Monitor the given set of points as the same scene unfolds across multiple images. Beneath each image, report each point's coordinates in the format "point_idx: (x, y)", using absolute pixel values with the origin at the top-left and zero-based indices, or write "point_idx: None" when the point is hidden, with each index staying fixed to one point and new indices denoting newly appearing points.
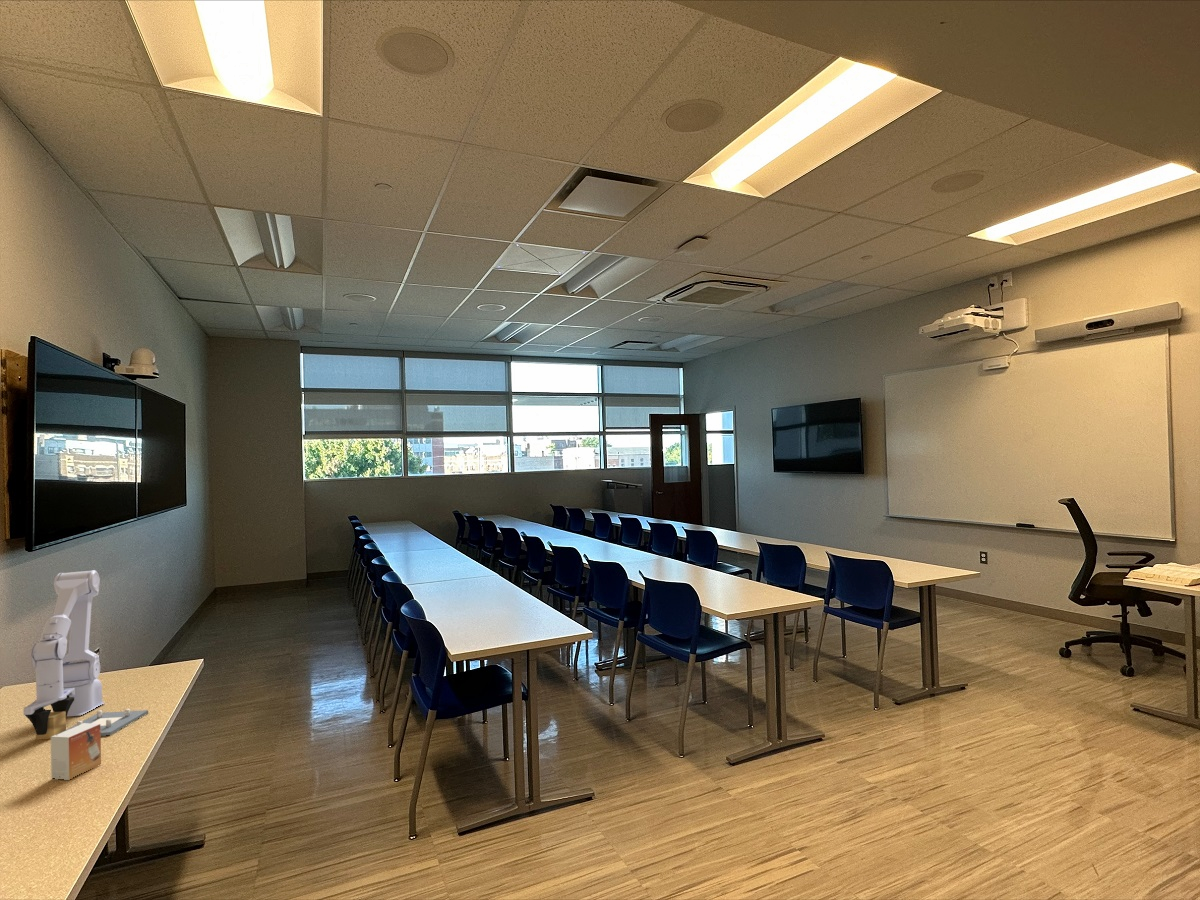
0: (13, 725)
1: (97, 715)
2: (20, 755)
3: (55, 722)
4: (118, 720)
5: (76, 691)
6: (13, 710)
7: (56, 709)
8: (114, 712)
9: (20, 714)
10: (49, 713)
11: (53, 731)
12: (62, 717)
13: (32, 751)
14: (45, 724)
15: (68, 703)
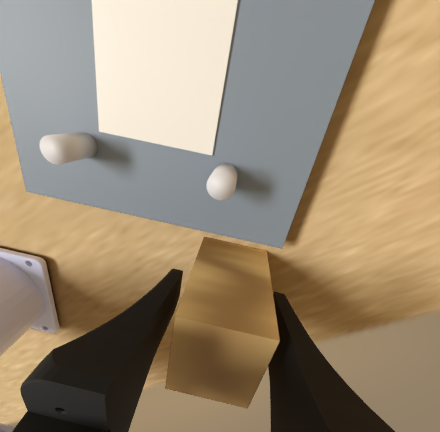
0: None
1: (85, 153)
2: (421, 290)
3: (261, 301)
4: None
5: None
6: (22, 414)
7: (144, 371)
8: (11, 93)
9: None
10: (318, 399)
11: (268, 272)
12: (209, 296)
13: (400, 266)
14: (301, 334)
15: (121, 360)
